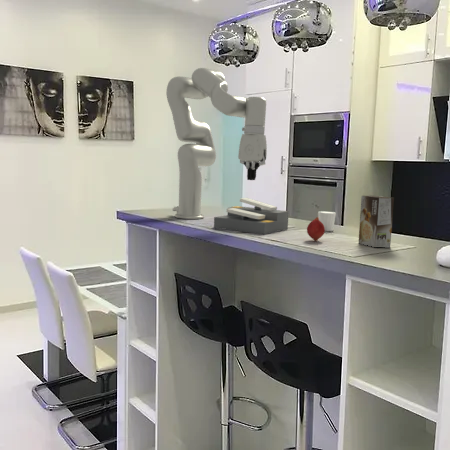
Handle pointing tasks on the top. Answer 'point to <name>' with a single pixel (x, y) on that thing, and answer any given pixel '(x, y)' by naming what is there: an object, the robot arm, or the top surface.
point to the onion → (315, 229)
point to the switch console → (254, 221)
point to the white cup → (327, 219)
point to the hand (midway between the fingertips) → (251, 179)
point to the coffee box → (376, 221)
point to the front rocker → (245, 213)
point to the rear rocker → (258, 204)
